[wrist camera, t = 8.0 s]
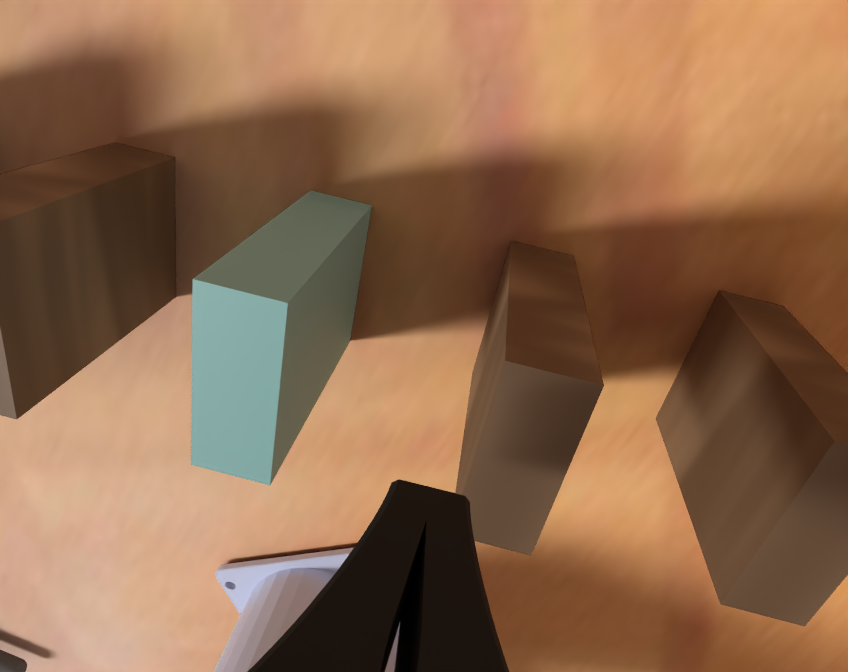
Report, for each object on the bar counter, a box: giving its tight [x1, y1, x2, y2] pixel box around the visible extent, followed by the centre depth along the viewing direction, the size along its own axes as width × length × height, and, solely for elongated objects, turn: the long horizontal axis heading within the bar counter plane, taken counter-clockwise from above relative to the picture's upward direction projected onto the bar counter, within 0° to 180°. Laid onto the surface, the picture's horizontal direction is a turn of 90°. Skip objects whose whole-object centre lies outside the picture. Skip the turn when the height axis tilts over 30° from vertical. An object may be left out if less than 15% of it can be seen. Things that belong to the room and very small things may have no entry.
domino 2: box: [191, 190, 372, 485], centre depth 16 cm, size 2×5×8 cm, turn 168°
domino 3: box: [456, 241, 604, 556], centre depth 16 cm, size 2×5×8 cm, turn 168°
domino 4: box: [656, 290, 848, 626], centre depth 16 cm, size 2×5×8 cm, turn 169°
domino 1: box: [0, 143, 176, 419], centre depth 16 cm, size 2×5×8 cm, turn 168°
